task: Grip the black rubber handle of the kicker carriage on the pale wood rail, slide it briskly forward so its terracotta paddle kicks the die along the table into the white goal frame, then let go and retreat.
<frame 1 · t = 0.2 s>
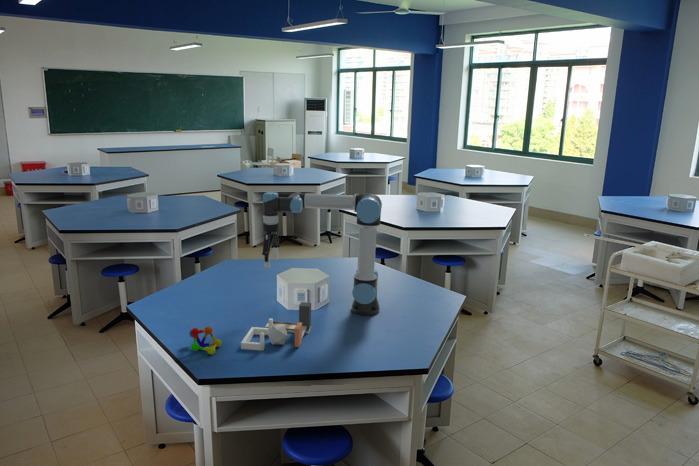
hand: (271, 263, 264), 28 cm above the table, fingers open, 13 cm apart
molecular model: (203, 350, 230), on the table
goal: (257, 341, 240), on the table
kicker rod: (301, 323, 243), point 7 cm above the table, slide at 0.0 cm
rail: (288, 328, 254), on the table
die: (278, 343, 239), on the table
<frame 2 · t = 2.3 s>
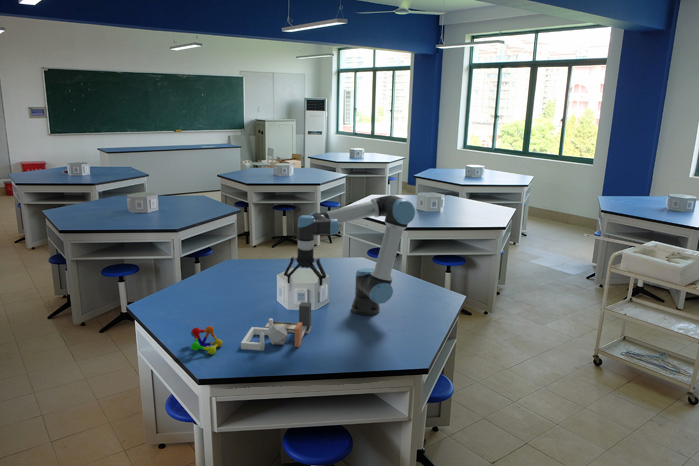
hand: (304, 290, 248), 20 cm above the table, fingers open, 13 cm apart
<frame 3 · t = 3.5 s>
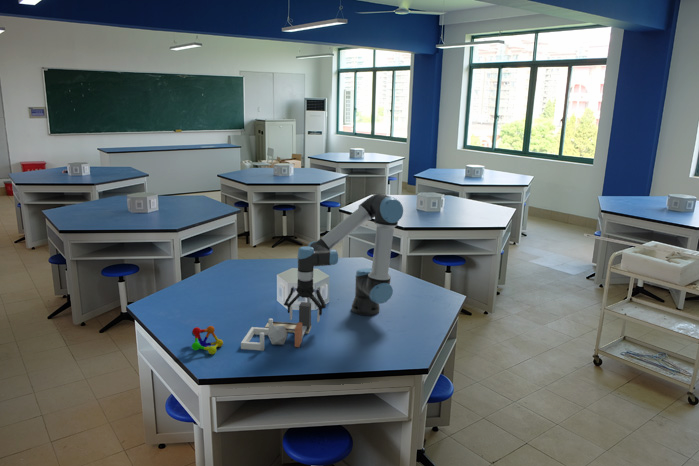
hand: (304, 320, 252), 5 cm above the table, fingers open, 13 cm apart
nothing on the table moved.
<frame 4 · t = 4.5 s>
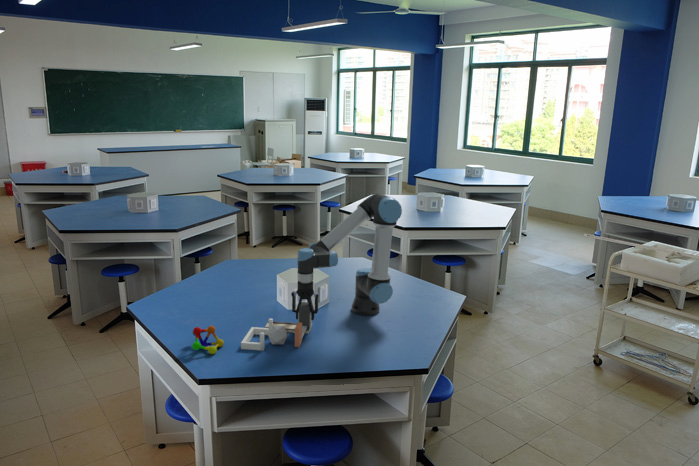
hand: (305, 325, 253), 2 cm above the table, fingers closed on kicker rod, 5 cm apart
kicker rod: (301, 323, 243), point 7 cm above the table, slide at 0.0 cm, touching gripper
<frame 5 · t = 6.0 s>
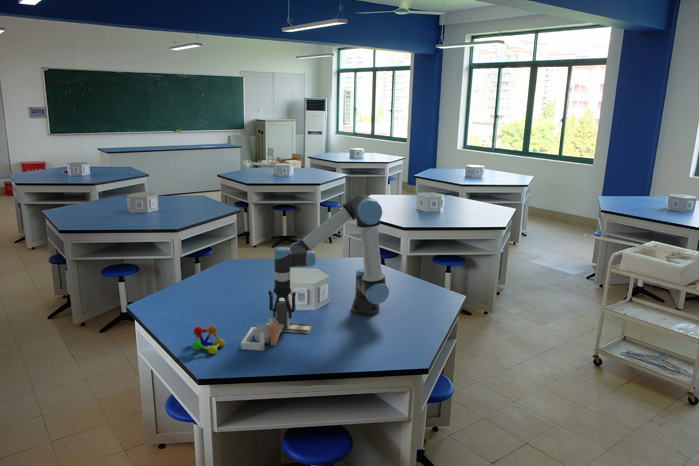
hand: (282, 323, 254), 2 cm above the table, fingers closed on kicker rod, 5 cm apart
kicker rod: (278, 322, 244), point 7 cm above the table, slide at 11.2 cm, touching die, gripper
die: (263, 342, 240), on the table, touching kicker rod
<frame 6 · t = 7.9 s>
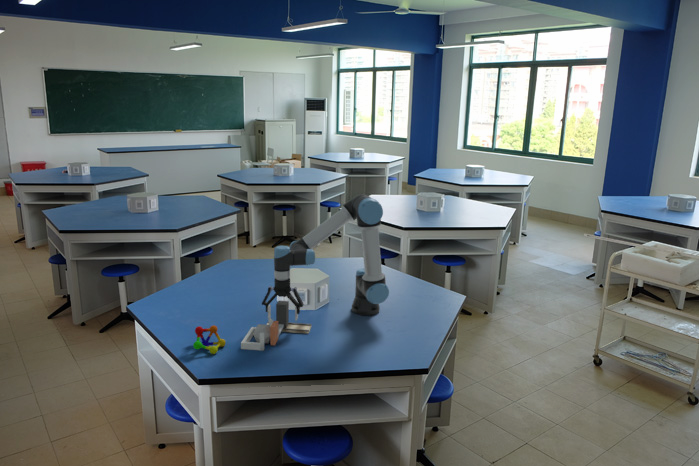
hand: (282, 319, 253), 5 cm above the table, fingers open, 13 cm apart
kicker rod: (278, 322, 244), point 7 cm above the table, slide at 11.2 cm
die: (263, 342, 240), on the table
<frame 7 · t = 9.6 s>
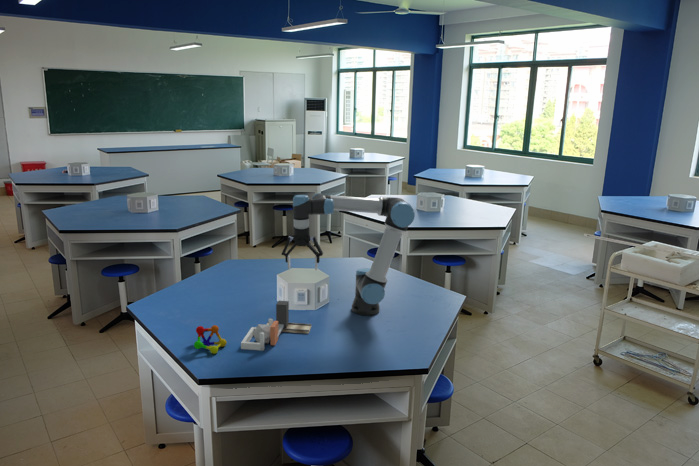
hand: (302, 268, 255), 28 cm above the table, fingers open, 13 cm apart
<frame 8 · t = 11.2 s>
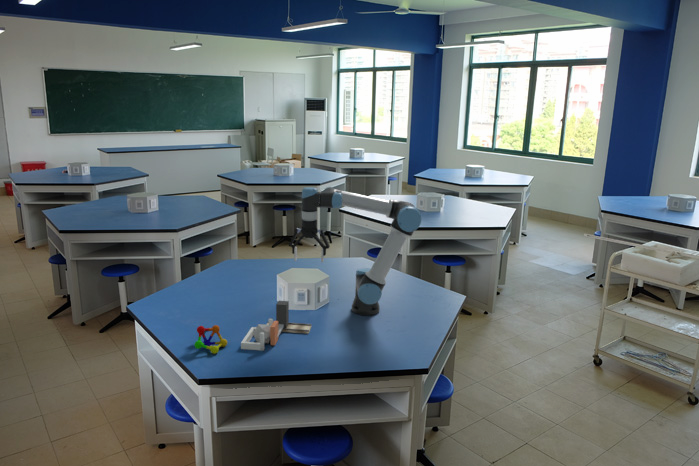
hand: (309, 260, 257), 32 cm above the table, fingers open, 13 cm apart
at the end: die inside the target area on the goal (2.7 cm from its centre), point 0.0 cm above the goal's base; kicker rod slide at 11.2 cm; die tilted 0° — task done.
